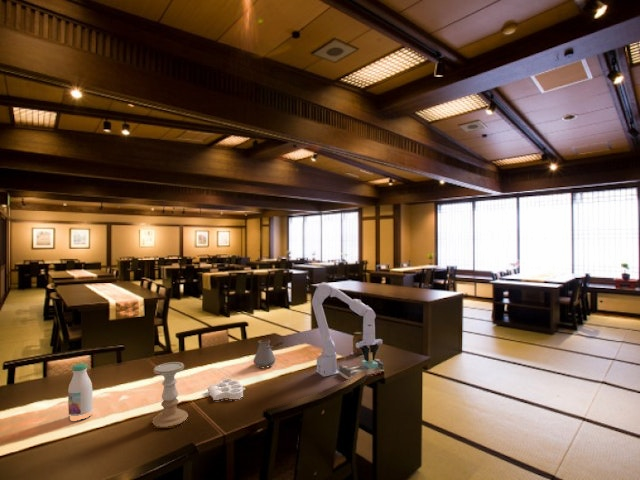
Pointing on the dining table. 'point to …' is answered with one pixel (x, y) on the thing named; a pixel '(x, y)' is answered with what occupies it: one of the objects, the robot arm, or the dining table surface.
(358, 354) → the condiment
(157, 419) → the candle holder
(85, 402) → the milk bottle
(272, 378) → the dining table surface
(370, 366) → the carriage
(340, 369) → the rail bed
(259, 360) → the coffee pot
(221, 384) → the white flat scalloped piece
